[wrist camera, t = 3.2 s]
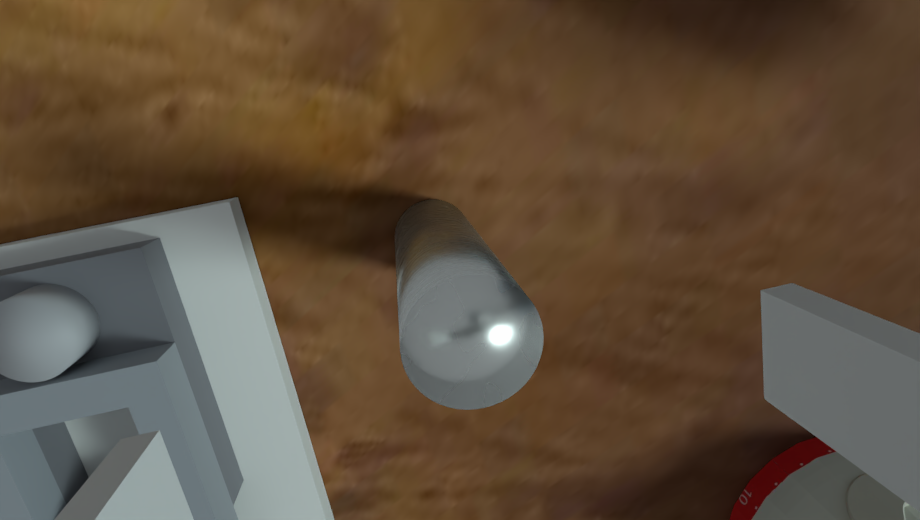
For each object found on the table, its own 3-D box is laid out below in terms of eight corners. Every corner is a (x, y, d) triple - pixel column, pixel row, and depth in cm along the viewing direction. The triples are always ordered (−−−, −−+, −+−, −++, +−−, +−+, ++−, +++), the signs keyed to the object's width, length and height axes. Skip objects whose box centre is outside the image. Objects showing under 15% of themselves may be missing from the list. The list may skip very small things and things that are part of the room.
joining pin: (386, 207, 28) (385, 292, 14) (463, 192, 28) (532, 260, 15) (403, 281, 29) (416, 423, 15) (476, 265, 29) (552, 391, 16)
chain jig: (-106, 265, 25) (-266, 312, 19) (237, 197, 27) (191, 221, 20) (57, 596, 31) (-26, 717, 25) (336, 527, 32) (324, 626, 26)
